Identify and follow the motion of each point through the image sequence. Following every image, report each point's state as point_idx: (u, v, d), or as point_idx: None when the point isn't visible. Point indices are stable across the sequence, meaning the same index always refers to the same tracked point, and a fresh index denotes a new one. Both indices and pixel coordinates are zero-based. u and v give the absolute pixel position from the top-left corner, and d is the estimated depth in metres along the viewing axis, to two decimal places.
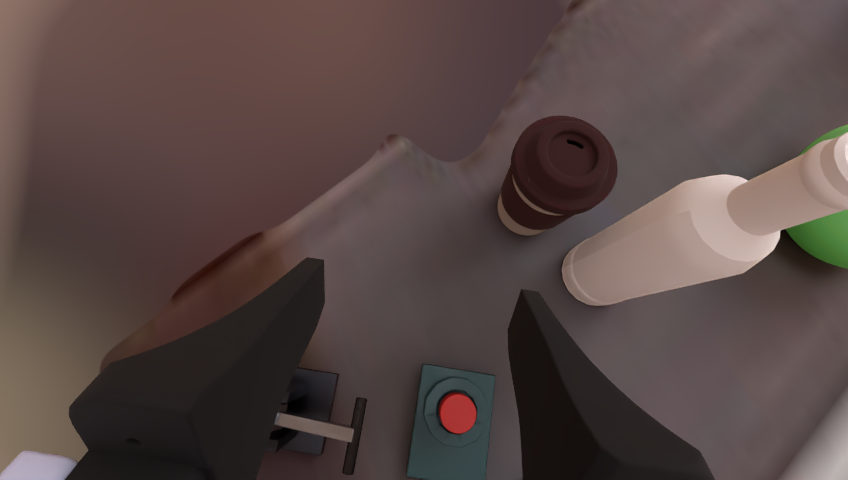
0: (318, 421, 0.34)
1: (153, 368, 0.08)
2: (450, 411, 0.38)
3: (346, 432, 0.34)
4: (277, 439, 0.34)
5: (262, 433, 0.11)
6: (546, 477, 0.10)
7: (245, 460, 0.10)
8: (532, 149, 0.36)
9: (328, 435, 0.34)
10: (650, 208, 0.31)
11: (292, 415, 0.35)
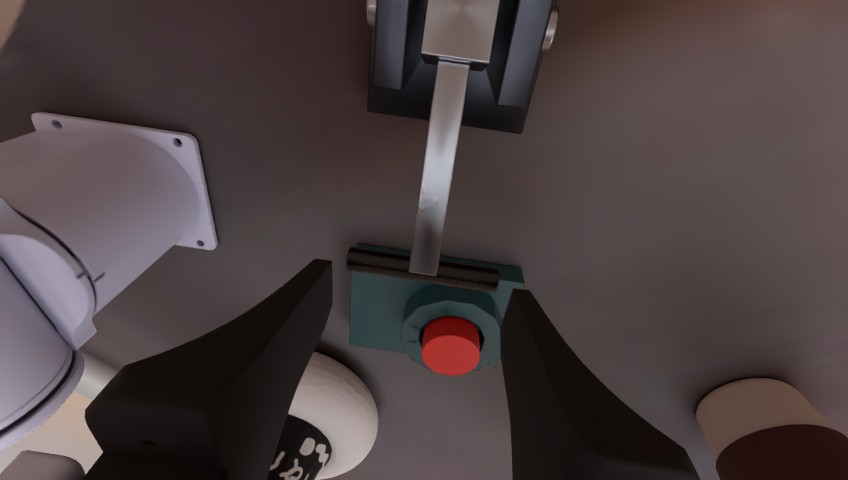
0: (449, 189, 0.14)
1: (168, 371, 0.08)
2: (454, 347, 0.24)
3: (428, 260, 0.15)
4: (403, 87, 0.13)
5: (273, 435, 0.11)
6: (534, 475, 0.10)
7: (257, 462, 0.10)
8: None
9: (420, 218, 0.14)
10: None
11: (461, 113, 0.13)
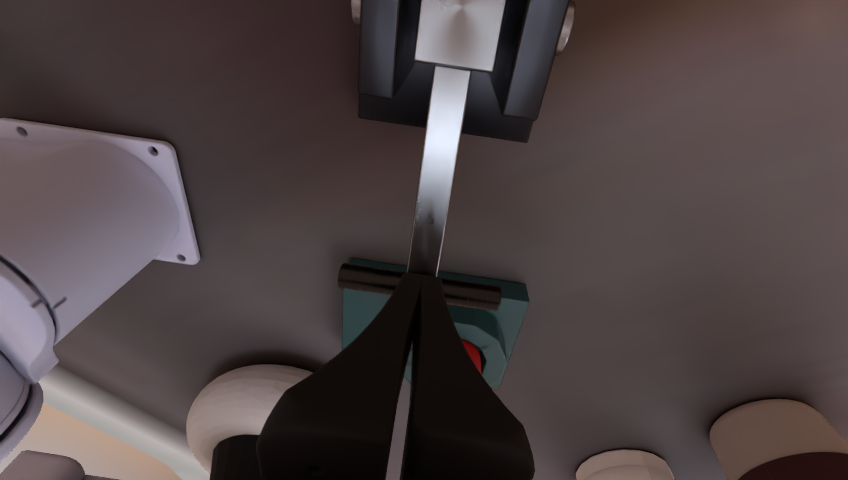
0: (447, 206, 0.13)
1: (330, 395, 0.08)
2: None
3: None
4: (394, 95, 0.11)
5: (389, 452, 0.11)
6: (404, 456, 0.10)
7: None
8: None
9: (415, 237, 0.13)
10: None
11: (461, 124, 0.12)
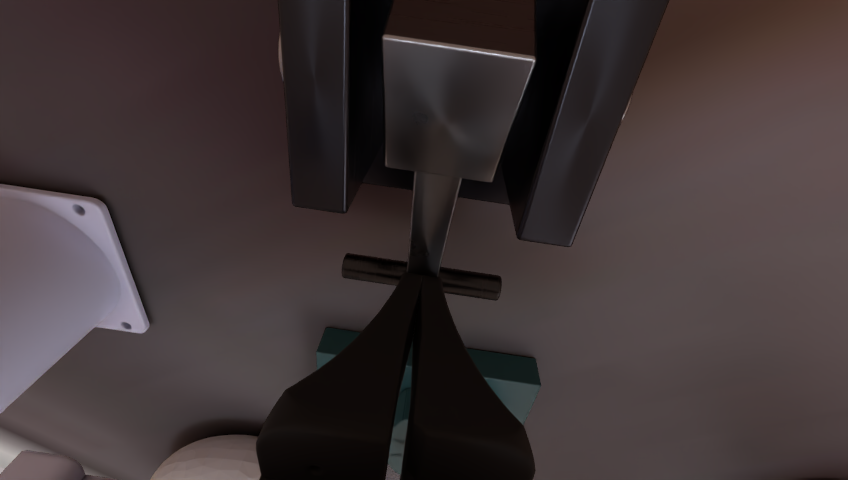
0: (443, 245, 0.12)
1: (329, 395, 0.08)
2: None
3: None
4: (349, 206, 0.07)
5: None
6: (405, 456, 0.10)
7: None
8: None
9: (412, 261, 0.13)
10: None
11: None
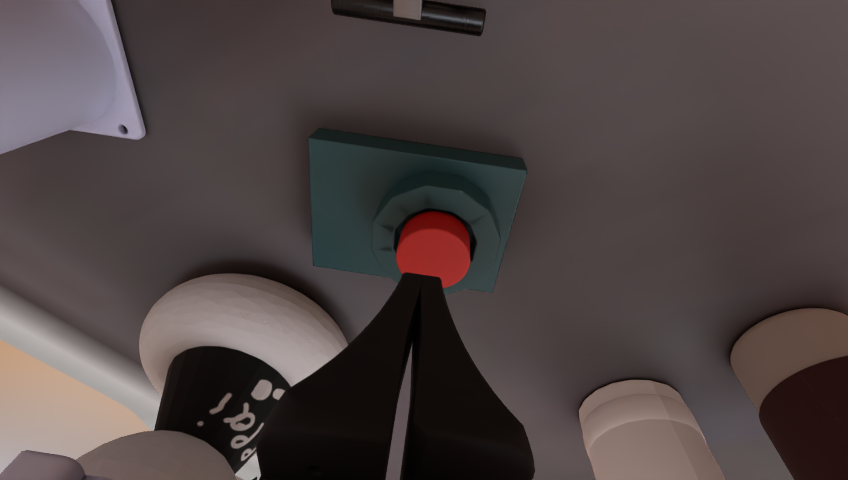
0: None
1: (329, 395, 0.08)
2: (437, 247, 0.18)
3: (411, 3, 0.15)
4: None
5: (389, 452, 0.11)
6: (404, 456, 0.10)
7: None
8: None
9: None
10: None
11: None
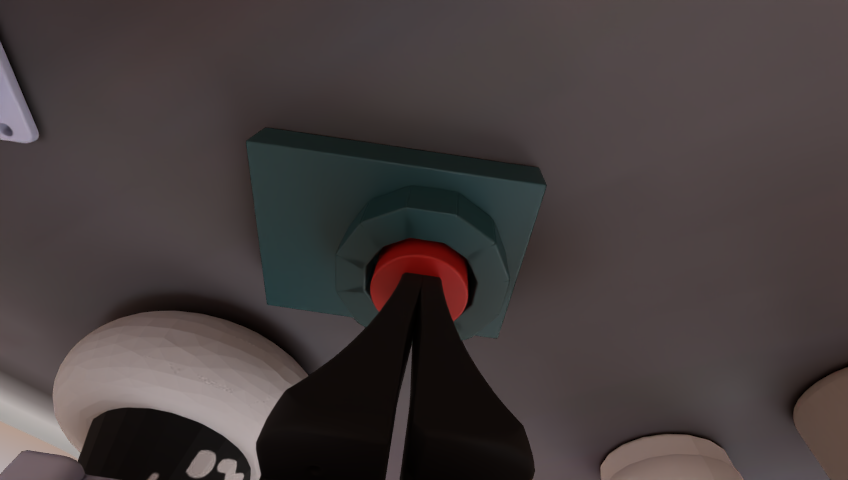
0: None
1: (330, 395, 0.08)
2: None
3: None
4: None
5: None
6: (404, 456, 0.10)
7: None
8: None
9: None
10: None
11: None
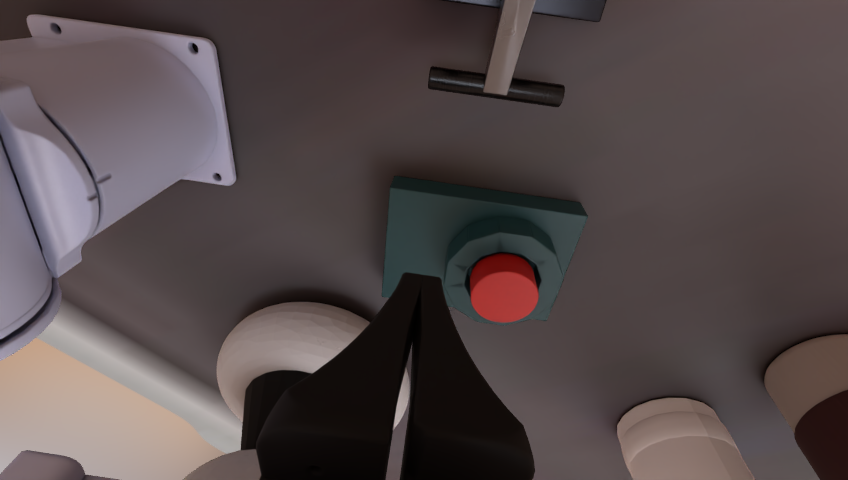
0: (528, 19, 0.14)
1: (329, 395, 0.08)
2: (509, 287, 0.20)
3: (501, 83, 0.17)
4: None
5: (389, 452, 0.11)
6: (404, 456, 0.10)
7: None
8: None
9: (497, 47, 0.15)
10: None
11: None
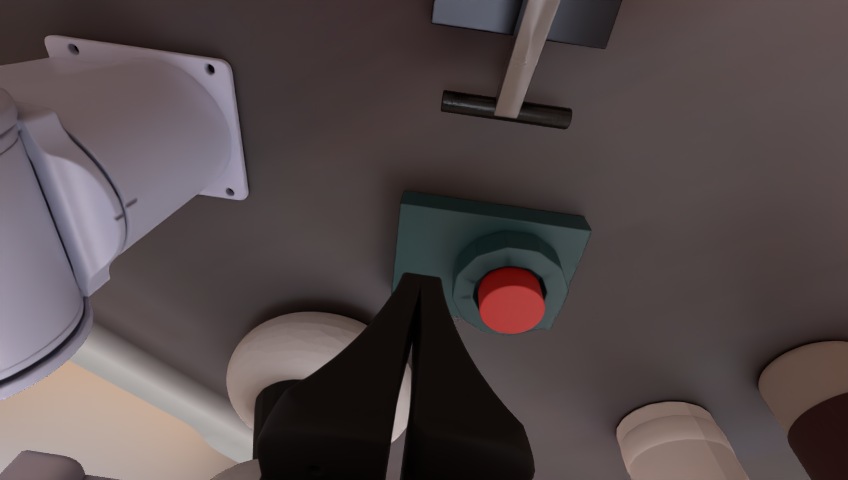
0: (540, 50, 0.15)
1: (329, 395, 0.08)
2: (517, 300, 0.21)
3: (512, 107, 0.17)
4: None
5: (389, 452, 0.11)
6: (404, 456, 0.10)
7: None
8: None
9: (509, 75, 0.16)
10: None
11: None
